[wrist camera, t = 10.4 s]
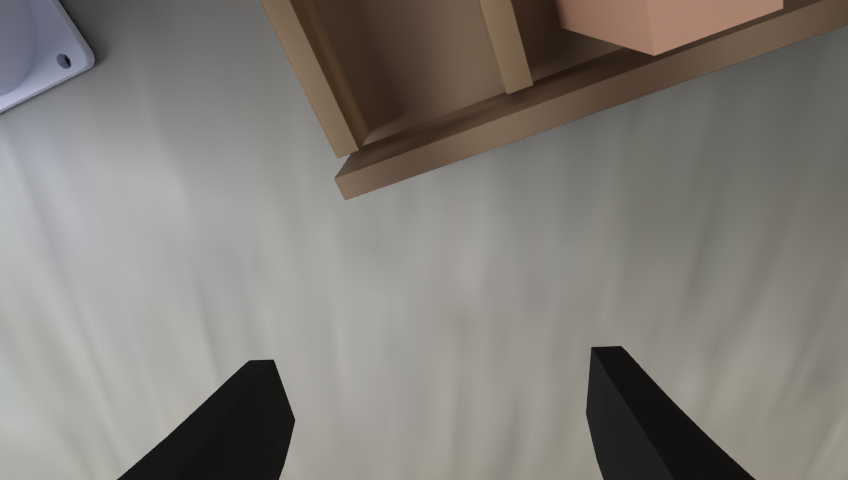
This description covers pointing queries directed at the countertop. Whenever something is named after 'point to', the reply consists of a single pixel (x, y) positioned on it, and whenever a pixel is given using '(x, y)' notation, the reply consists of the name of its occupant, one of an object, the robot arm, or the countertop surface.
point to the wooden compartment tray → (483, 73)
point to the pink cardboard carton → (658, 20)
